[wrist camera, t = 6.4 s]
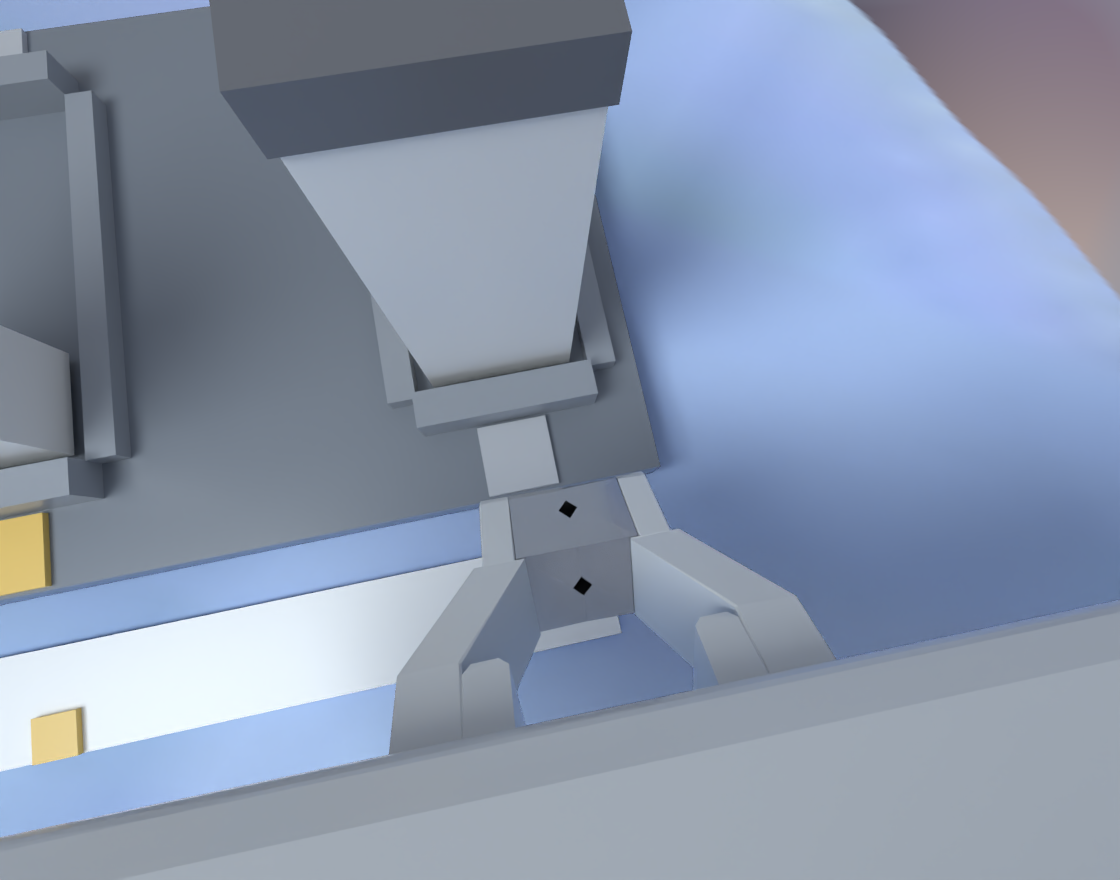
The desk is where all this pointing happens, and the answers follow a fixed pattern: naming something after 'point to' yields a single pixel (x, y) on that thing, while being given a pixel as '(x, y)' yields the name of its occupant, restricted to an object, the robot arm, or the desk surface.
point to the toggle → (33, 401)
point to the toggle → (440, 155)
